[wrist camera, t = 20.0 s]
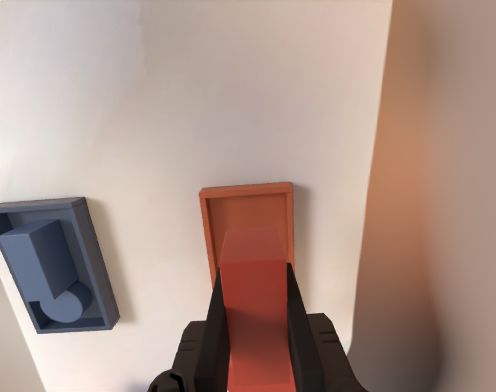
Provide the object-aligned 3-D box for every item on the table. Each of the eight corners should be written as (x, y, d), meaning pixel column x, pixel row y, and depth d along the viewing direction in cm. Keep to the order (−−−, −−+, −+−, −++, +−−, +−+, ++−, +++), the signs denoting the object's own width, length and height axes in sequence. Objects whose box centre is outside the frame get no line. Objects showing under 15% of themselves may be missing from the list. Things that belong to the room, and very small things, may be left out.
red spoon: (211, 230, 14) (198, 264, 10) (292, 224, 14) (307, 257, 10) (231, 381, 17) (226, 445, 14) (295, 378, 17) (307, 441, 14)
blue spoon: (24, 221, 25) (-12, 236, 22) (67, 218, 25) (37, 233, 22) (59, 312, 29) (33, 337, 25) (97, 310, 29) (76, 335, 25)
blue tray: (1, 202, 25) (-19, 208, 23) (84, 196, 25) (70, 202, 23) (50, 321, 30) (37, 334, 28) (120, 317, 29) (111, 330, 28)
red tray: (202, 188, 24) (198, 193, 22) (289, 181, 24) (292, 186, 22) (219, 311, 29) (217, 324, 27) (292, 307, 29) (295, 319, 27)
